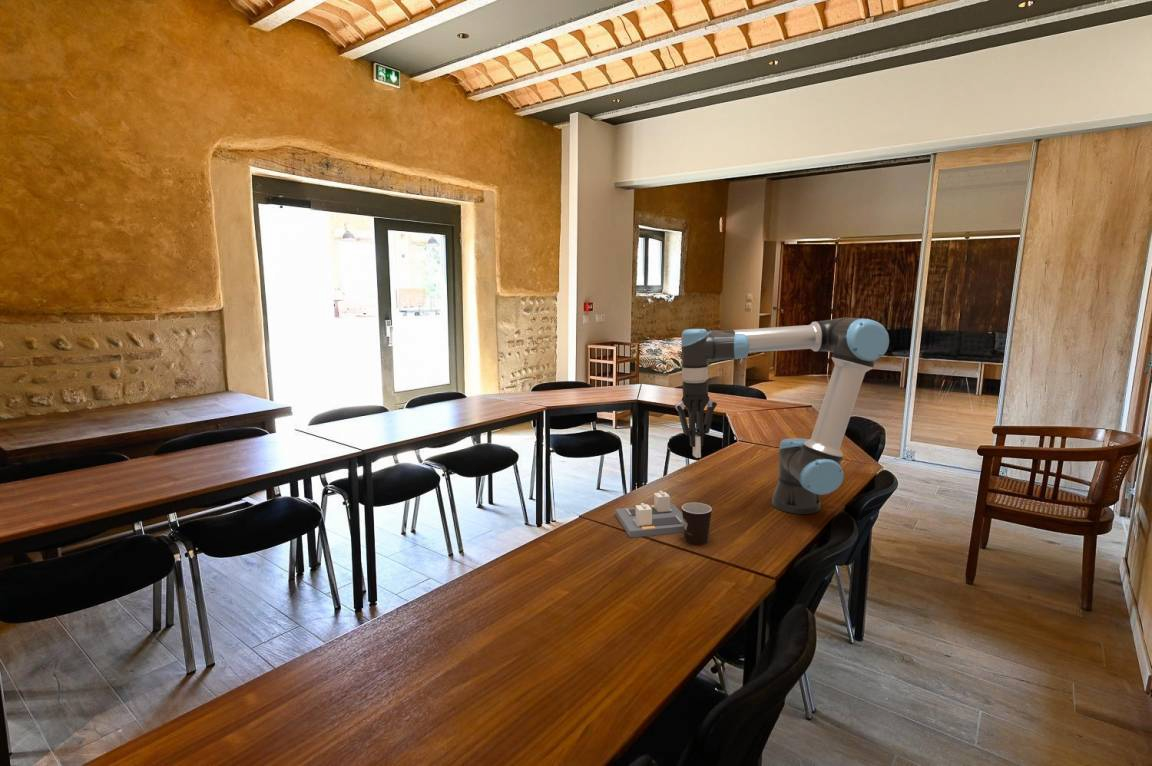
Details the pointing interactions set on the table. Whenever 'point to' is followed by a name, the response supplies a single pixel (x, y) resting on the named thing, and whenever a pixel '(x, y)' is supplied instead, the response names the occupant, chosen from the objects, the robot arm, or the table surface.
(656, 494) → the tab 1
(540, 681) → the table surface
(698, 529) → the coffee mug
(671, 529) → the switch board
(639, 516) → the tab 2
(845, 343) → the robot arm
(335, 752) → the table surface
